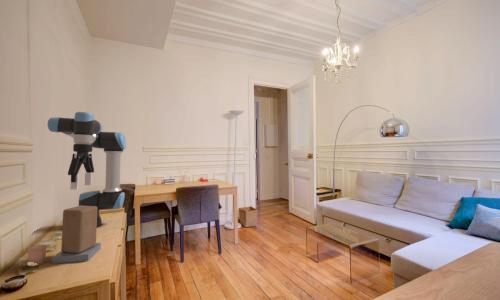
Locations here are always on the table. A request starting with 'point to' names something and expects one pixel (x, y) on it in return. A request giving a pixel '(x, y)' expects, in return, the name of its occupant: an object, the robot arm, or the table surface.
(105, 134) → the robot arm
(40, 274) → the table surface
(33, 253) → the reddish brown block
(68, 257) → the slate plinth
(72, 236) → the wooden block
